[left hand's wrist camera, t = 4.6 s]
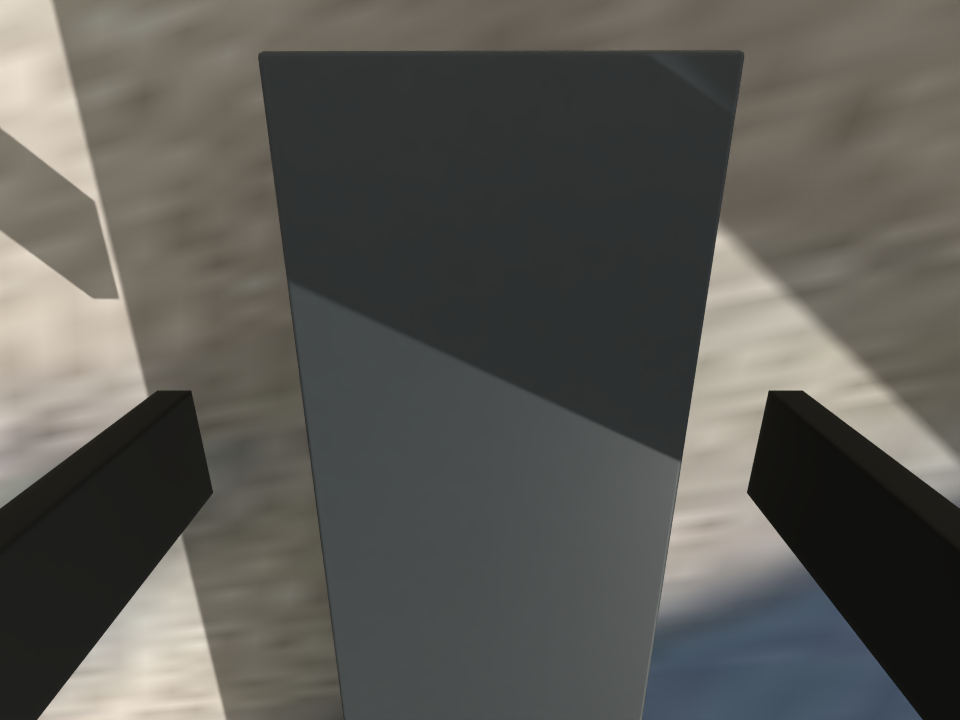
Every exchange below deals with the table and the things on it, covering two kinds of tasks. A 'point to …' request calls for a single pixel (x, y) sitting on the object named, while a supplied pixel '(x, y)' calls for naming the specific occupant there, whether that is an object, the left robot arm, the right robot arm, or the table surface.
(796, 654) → the table surface
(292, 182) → the bar
